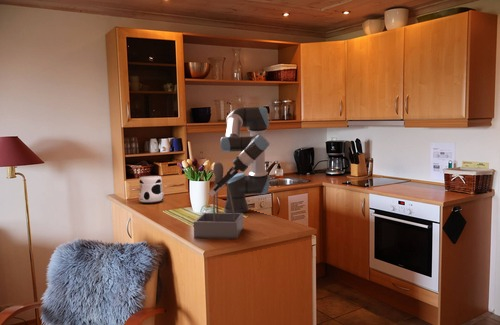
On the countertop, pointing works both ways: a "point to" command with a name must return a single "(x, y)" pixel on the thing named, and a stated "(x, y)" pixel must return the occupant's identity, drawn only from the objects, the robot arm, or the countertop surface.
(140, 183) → the milk container
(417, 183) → the countertop surface
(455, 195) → the countertop surface
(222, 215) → the gray open bin
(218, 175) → the citrus juicer
